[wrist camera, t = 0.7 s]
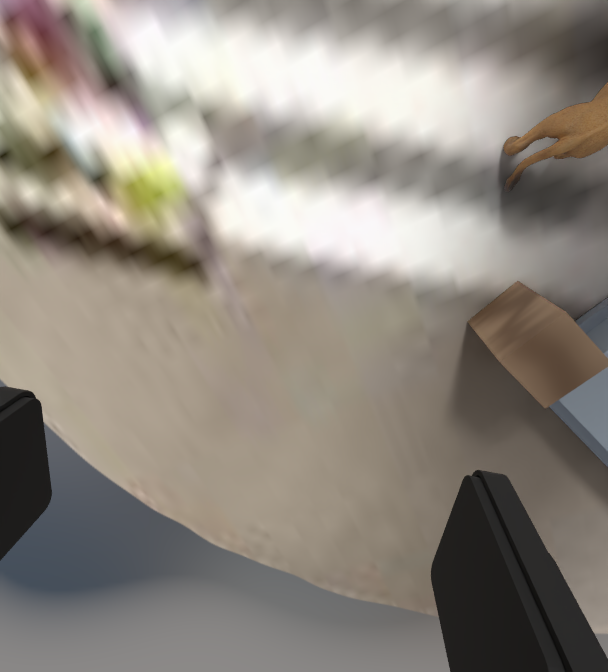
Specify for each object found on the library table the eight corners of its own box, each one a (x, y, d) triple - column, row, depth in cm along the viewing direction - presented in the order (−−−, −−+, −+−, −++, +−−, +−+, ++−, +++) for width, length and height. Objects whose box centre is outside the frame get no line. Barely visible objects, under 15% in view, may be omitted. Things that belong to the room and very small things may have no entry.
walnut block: (517, 280, 33) (566, 312, 26) (555, 322, 34) (612, 363, 27) (467, 321, 35) (499, 362, 27) (504, 359, 36) (545, 408, 28)
